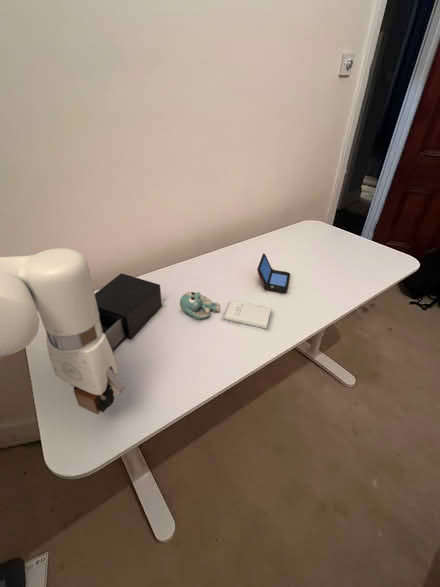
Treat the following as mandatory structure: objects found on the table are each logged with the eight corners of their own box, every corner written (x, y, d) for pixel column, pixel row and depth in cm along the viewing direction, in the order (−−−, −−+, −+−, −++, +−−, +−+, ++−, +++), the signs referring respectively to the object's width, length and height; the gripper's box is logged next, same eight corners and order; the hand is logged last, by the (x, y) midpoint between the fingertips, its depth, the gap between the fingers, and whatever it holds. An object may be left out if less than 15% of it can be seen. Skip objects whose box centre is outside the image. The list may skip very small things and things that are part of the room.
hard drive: (266, 329, 86) (224, 319, 88) (270, 311, 92) (231, 303, 95) (267, 325, 85) (224, 315, 87) (271, 307, 91) (231, 299, 94)
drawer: (87, 379, 69) (81, 361, 65) (46, 362, 72) (38, 343, 69) (139, 325, 84) (136, 307, 80) (103, 312, 88) (99, 295, 84)
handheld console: (286, 295, 99) (290, 276, 95) (254, 288, 102) (256, 269, 97) (290, 275, 109) (294, 257, 105) (260, 269, 111) (263, 251, 107)
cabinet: (131, 339, 81) (126, 316, 76) (90, 324, 85) (83, 302, 80) (162, 306, 92) (160, 284, 87) (125, 294, 96) (121, 273, 91)
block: (97, 415, 55) (93, 400, 52) (78, 405, 56) (73, 391, 53) (113, 396, 58) (110, 381, 55) (95, 387, 59) (91, 373, 57)
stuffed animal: (223, 308, 84) (180, 301, 82) (217, 326, 88) (176, 320, 86) (222, 285, 93) (183, 278, 91) (217, 303, 97) (179, 297, 95)
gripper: (12, 326, 46) (45, 399, 56) (103, 364, 41) (120, 436, 52) (52, 299, 51) (75, 370, 62) (136, 330, 47) (146, 401, 57)
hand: (96, 399), depth 57 cm, fingers closed on block, 4 cm apart
